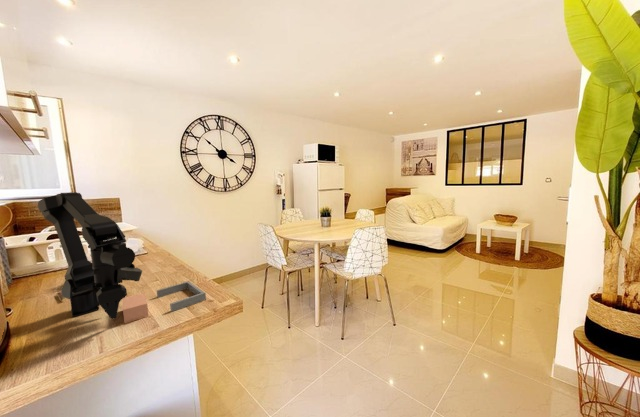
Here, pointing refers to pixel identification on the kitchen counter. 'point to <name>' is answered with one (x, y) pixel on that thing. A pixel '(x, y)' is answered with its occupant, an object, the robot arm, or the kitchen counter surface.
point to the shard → (61, 297)
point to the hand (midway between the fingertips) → (111, 312)
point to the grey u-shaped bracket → (185, 302)
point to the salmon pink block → (135, 307)
